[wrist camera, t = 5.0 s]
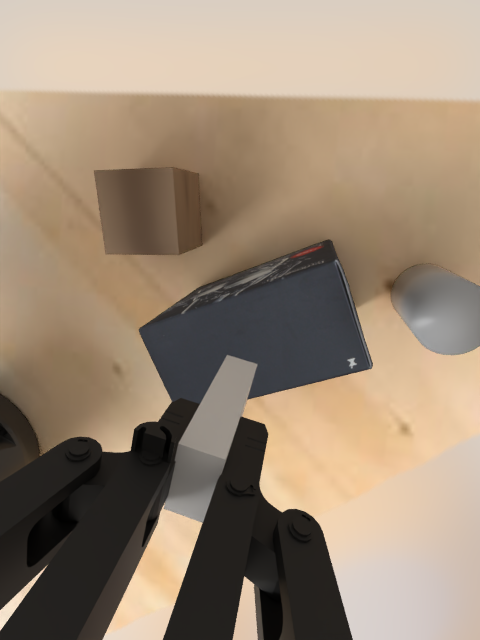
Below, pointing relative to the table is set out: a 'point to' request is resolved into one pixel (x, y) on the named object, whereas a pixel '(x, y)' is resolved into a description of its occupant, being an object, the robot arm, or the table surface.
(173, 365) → the small box
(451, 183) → the table surface
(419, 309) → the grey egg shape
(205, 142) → the table surface
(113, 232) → the walnut cube
